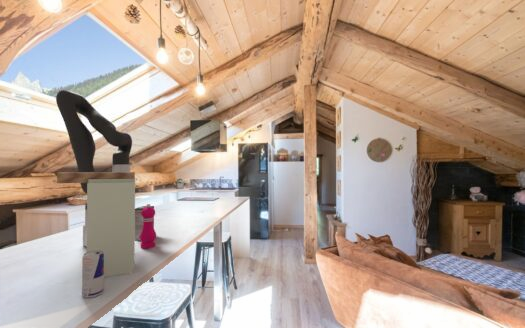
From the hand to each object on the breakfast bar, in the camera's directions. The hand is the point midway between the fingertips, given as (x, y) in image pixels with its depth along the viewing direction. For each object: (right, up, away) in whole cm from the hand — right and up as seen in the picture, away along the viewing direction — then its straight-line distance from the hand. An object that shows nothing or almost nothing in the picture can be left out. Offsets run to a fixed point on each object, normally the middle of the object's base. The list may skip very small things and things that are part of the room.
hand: (122, 208), depth 123 cm
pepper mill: (+13, -18, -1) cm, 22 cm away
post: (+12, -17, -29) cm, 35 cm away
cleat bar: (+8, +15, -30) cm, 35 cm away
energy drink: (+16, -18, -46) cm, 51 cm away
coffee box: (+4, -18, +14) cm, 23 cm away
